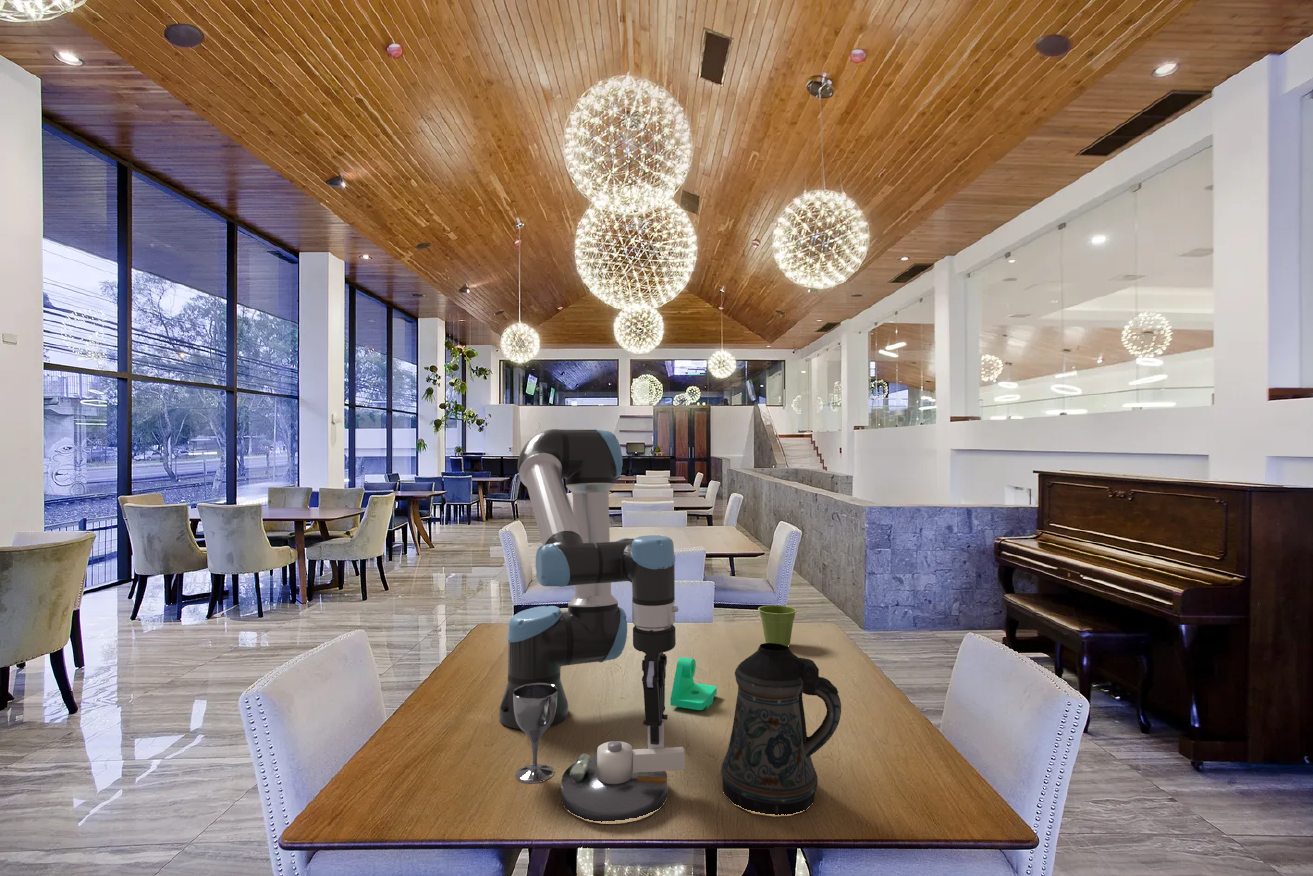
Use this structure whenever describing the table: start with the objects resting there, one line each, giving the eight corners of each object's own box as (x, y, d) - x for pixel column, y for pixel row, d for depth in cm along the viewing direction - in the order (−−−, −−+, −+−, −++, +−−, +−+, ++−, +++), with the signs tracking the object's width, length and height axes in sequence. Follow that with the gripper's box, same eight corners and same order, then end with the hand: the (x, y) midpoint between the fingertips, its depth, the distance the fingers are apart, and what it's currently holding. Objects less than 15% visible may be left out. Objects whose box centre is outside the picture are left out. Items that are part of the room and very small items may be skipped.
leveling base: (547, 819, 101) (547, 785, 101) (577, 766, 119) (578, 736, 119) (659, 829, 98) (659, 794, 99) (673, 773, 116) (673, 743, 116)
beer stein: (713, 770, 117) (713, 633, 118) (816, 767, 119) (815, 631, 120) (730, 821, 101) (730, 662, 102) (849, 816, 102) (848, 659, 103)
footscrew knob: (597, 785, 106) (597, 753, 106) (596, 767, 111) (596, 737, 112) (686, 780, 107) (686, 748, 107) (681, 763, 113) (681, 733, 113)
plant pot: (802, 644, 198) (802, 607, 198) (789, 654, 188) (788, 615, 188) (766, 638, 204) (766, 603, 205) (751, 647, 194) (751, 610, 195)
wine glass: (537, 759, 122) (538, 679, 122) (565, 772, 117) (566, 689, 117) (503, 775, 115) (504, 691, 116) (531, 789, 110) (532, 702, 111)
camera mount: (702, 715, 143) (702, 669, 143) (670, 710, 146) (670, 665, 146) (717, 697, 154) (717, 654, 154) (688, 692, 157) (688, 650, 157)
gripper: (671, 636, 105) (673, 780, 105) (678, 615, 118) (680, 743, 118) (626, 635, 106) (628, 777, 106) (639, 614, 119) (640, 741, 119)
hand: (656, 759), depth 112 cm, fingers closed
